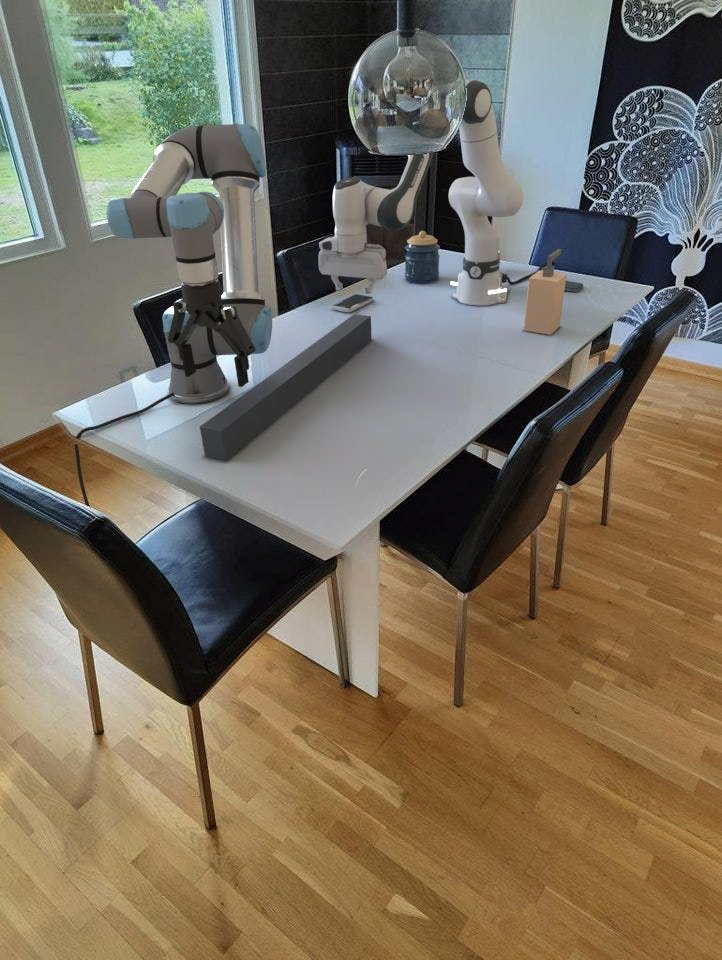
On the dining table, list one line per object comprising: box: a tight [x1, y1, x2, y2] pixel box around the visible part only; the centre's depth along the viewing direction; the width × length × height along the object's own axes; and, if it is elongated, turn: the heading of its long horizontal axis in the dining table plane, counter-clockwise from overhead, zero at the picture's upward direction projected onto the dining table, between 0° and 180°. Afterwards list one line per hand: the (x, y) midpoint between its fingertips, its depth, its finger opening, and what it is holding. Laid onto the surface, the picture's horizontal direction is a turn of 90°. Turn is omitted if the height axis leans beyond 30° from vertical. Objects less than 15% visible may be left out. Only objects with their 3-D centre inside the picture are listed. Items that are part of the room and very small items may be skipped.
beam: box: [199, 313, 372, 462], centre depth 175 cm, size 77×6×8 cm, turn 155°
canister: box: [404, 230, 441, 284], centre depth 251 cm, size 13×13×18 cm
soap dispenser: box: [523, 248, 567, 336], centre depth 203 cm, size 13×9×22 cm
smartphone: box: [331, 293, 374, 313], centre depth 232 cm, size 8×1×15 cm
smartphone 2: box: [564, 280, 584, 293], centre depth 241 cm, size 8×2×15 cm
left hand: (216, 379), depth 143 cm, fingers open, 13 cm apart
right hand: (354, 291), depth 193 cm, fingers open, 8 cm apart
